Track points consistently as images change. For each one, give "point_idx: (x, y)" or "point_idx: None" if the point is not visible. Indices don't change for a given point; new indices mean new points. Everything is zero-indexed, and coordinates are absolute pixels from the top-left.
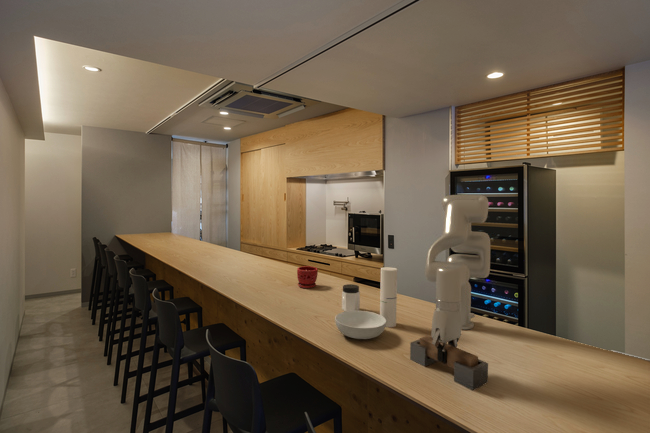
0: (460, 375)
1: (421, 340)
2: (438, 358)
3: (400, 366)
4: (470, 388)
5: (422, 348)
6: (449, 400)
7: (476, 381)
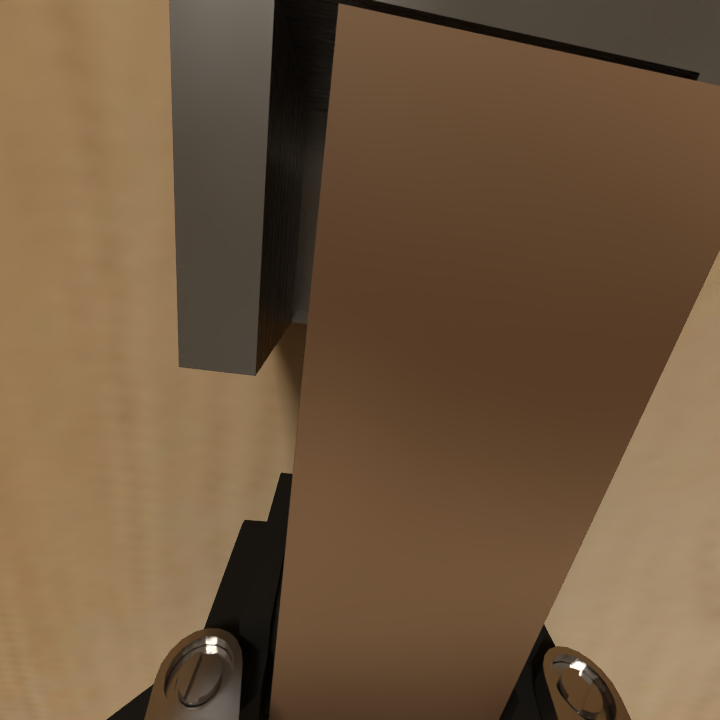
0: None
1: (331, 135)
2: (242, 526)
3: (24, 99)
4: None
5: (185, 298)
6: (24, 627)
7: None
